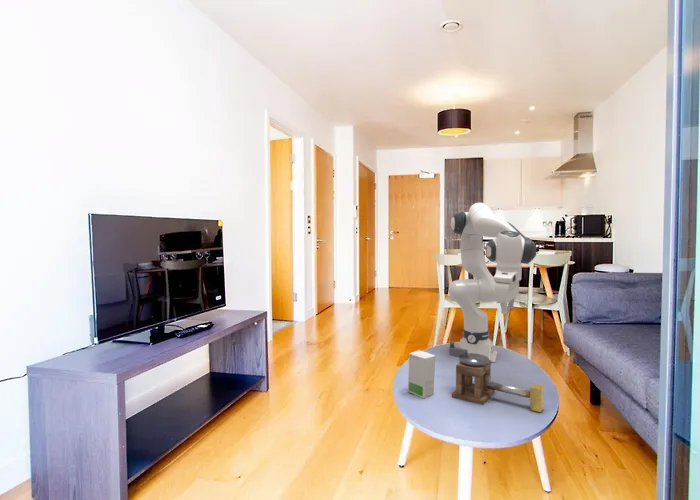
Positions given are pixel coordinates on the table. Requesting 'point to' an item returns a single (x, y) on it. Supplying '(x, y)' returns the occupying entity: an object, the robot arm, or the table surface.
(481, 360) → the handwheel
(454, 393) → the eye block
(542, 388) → the gold cube on rod
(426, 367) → the skincare box
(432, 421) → the table surface
